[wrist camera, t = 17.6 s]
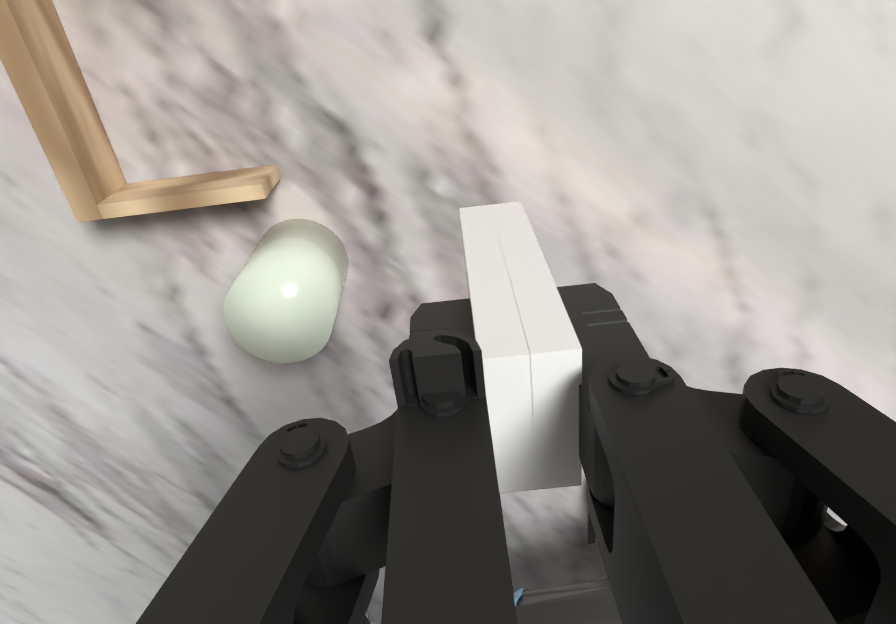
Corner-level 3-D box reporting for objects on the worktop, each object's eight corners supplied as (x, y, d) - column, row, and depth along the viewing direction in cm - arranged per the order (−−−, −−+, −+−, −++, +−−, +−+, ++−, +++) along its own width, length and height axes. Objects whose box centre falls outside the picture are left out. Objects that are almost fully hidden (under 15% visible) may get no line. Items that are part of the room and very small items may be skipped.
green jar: (337, 213, 40) (318, 264, 33) (356, 295, 43) (342, 357, 36) (245, 224, 40) (207, 277, 33) (271, 305, 43) (241, 369, 36)
